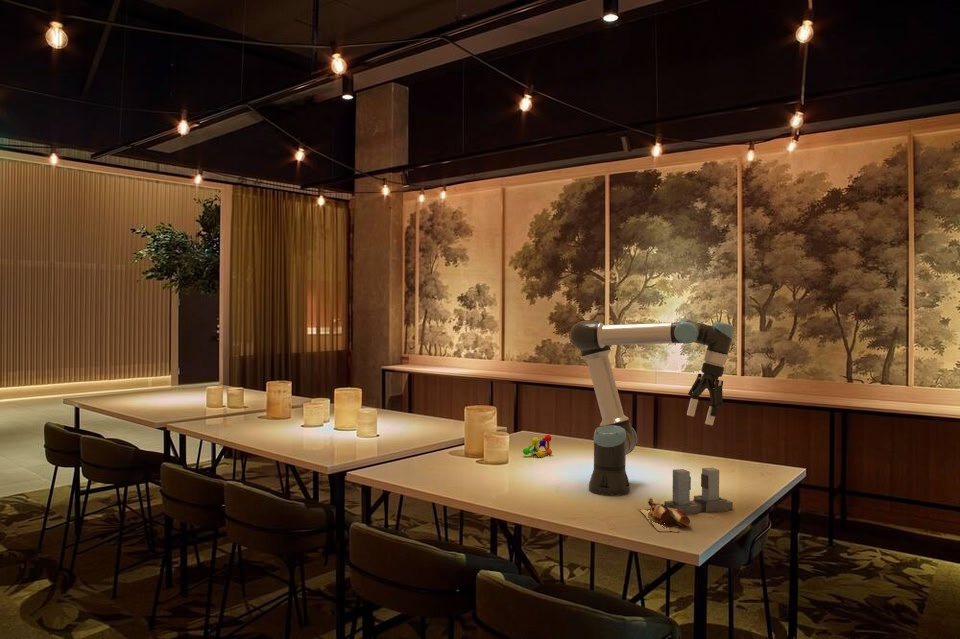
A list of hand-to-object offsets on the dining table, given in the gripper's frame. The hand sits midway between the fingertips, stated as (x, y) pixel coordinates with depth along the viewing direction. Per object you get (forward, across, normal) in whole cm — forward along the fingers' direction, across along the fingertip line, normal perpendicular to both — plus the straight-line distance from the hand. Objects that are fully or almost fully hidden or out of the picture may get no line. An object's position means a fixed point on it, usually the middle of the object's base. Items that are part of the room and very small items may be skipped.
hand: (699, 420), depth 251 cm
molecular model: (+42, +72, +31) cm, 89 cm away
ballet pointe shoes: (+31, -30, +20) cm, 48 cm away
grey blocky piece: (+27, -22, +4) cm, 35 cm away
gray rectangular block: (+24, -21, +1) cm, 32 cm away
